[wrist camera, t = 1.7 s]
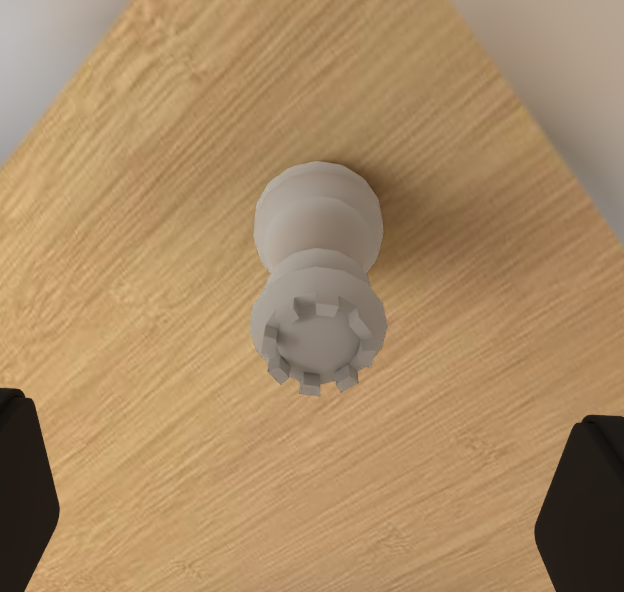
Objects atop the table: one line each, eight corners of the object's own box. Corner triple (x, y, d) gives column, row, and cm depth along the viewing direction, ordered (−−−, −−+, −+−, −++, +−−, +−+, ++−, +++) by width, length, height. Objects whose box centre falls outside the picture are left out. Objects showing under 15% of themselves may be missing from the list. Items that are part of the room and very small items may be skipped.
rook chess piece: (353, 291, 20) (371, 447, 13) (239, 254, 19) (195, 397, 12) (402, 183, 18) (455, 300, 11) (278, 137, 17) (250, 231, 10)
